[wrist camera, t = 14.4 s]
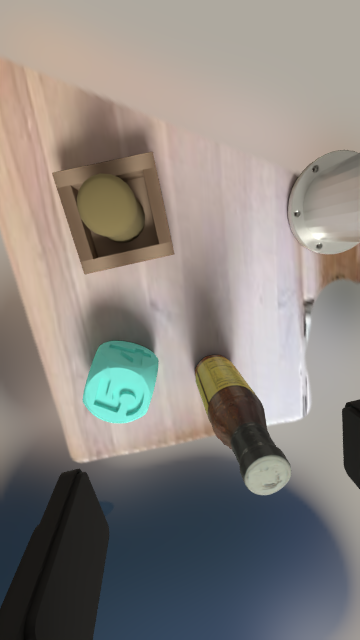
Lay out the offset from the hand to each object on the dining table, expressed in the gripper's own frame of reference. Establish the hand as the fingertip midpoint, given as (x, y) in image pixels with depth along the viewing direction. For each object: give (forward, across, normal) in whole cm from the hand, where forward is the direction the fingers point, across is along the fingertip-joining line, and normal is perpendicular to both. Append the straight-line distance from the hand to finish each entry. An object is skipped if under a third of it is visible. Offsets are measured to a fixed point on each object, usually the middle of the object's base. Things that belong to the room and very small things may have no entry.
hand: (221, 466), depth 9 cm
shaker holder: (+28, +4, -12) cm, 31 cm away
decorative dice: (+29, +9, +8) cm, 31 cm away
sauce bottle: (+28, -4, +12) cm, 31 cm away
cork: (+28, +4, -12) cm, 30 cm away
